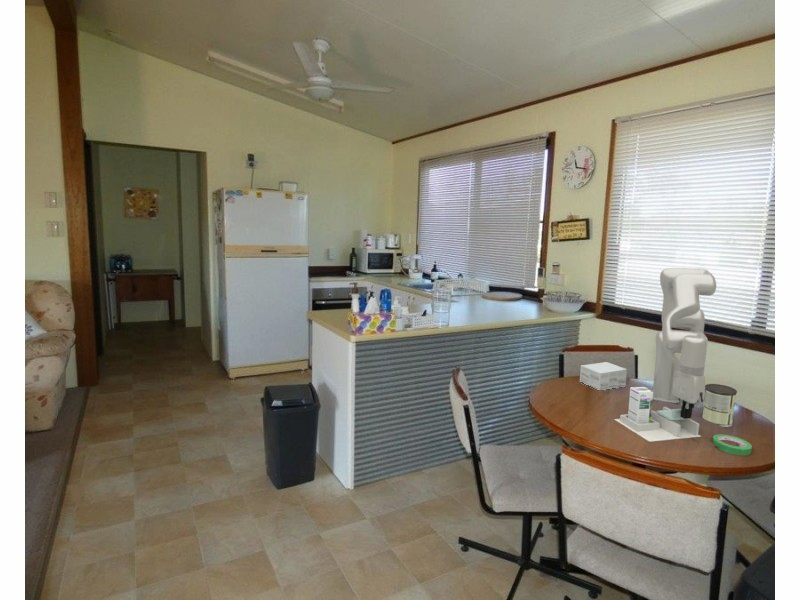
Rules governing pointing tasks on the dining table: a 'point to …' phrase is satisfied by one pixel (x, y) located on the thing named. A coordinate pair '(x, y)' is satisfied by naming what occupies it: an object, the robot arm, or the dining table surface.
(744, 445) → the tape roll
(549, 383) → the dining table surface
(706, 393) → the coffee can
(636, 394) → the syrup box
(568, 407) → the dining table surface
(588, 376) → the supplement box
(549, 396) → the dining table surface
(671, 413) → the lid
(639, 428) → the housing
